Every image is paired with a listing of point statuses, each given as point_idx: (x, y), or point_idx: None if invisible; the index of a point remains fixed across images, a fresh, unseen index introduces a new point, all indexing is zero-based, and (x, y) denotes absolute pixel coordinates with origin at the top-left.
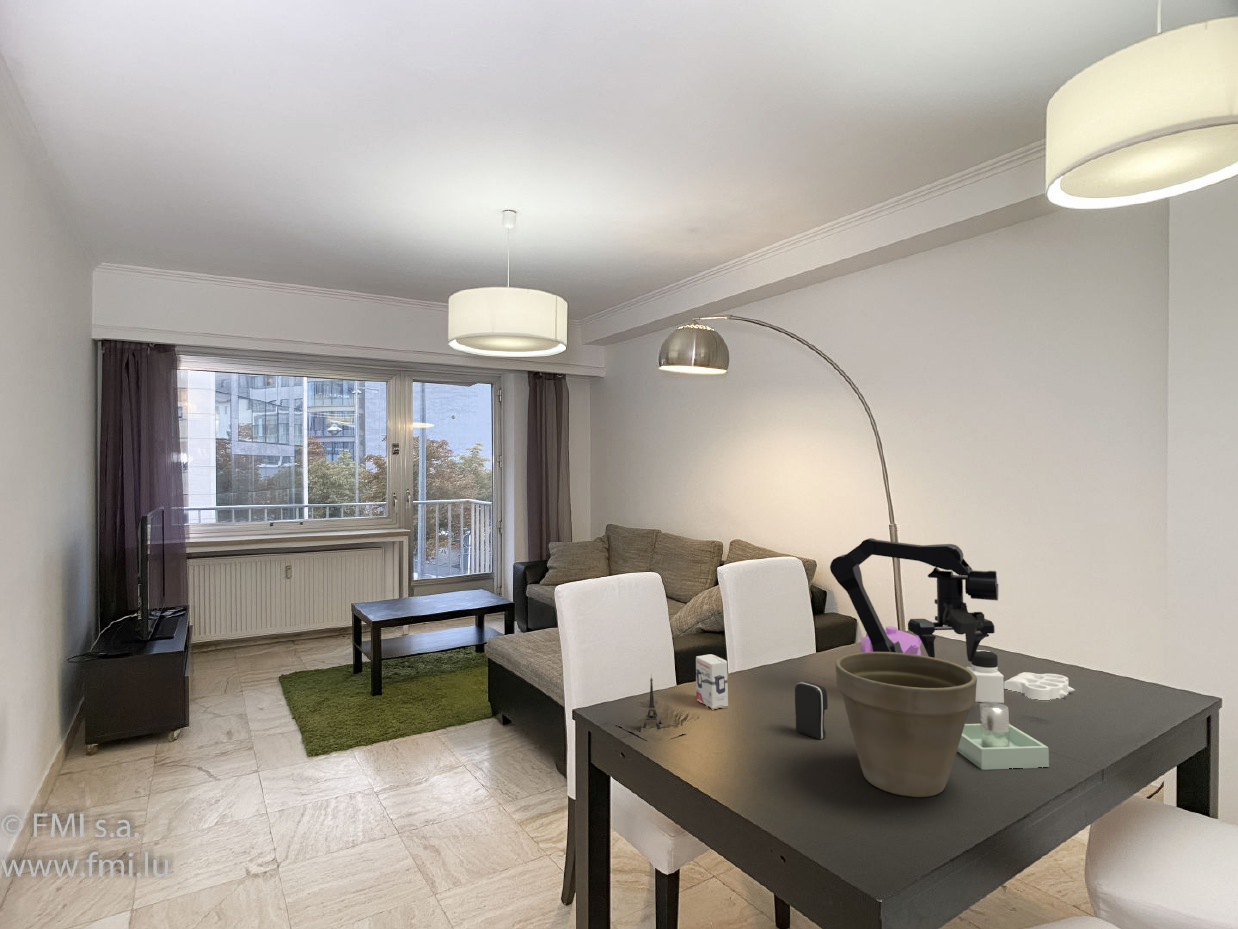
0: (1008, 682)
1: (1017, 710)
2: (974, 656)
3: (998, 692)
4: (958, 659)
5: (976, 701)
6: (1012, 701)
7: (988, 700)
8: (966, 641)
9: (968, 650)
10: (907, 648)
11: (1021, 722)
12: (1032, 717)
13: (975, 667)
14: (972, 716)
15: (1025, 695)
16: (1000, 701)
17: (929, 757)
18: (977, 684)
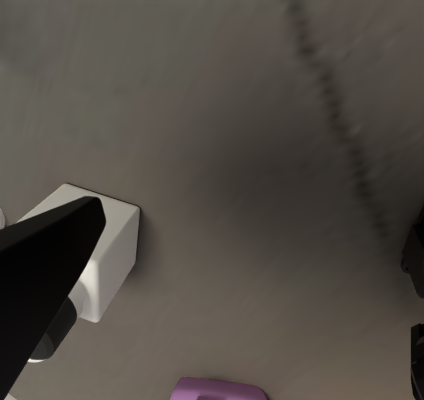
0: None
1: (43, 125)
2: (48, 332)
3: (58, 203)
4: (82, 393)
5: (134, 205)
6: (40, 193)
7: (101, 197)
8: (7, 380)
9: (51, 282)
10: None
11: (58, 3)
12: (13, 56)
13: (73, 293)
14: (204, 87)
15: (2, 219)
16: (71, 187)
17: None
18: (104, 237)
